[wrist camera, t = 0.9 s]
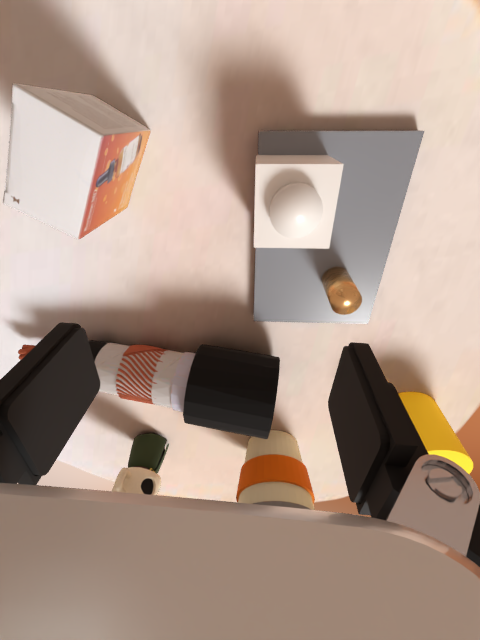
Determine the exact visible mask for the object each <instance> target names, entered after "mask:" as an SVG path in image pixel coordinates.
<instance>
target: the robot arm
mask: <svg viewBox="0 0 480 640" xmlns="http://www.w3.org/2000/svg"><path fill="white" fill-rule="evenodd" d="M99 389H100V379H99V375H98V372H97V369H96V365H95V362H94V358H93V355H92V352H91V348H90V345H89V342H88V338H87V335H86V332H85V330H84V328H81V326H80V325H79V324H75V323H59V324H58V325H57V326H56V327H55V328H54V329H53V330H52V331H51V332H50V333H48V334H47V335H46V336H45V337H44V338H43V339H42V340H41V341H40V342H39V343H38V344H37V345H36V346H35V347H34V348H33V349H32V350H31V351H30V352H29V353H28V354H27V355H26V356H25V357H24V358H22V359H21V360H20V361H19V362H18V363H17V364H16V365H15V366H14V367H13V368H12V369H11V370H10V371H9V372H8V373H7V374H6V375H5V376H4V377H3V378H2V379H1V380H0V640H480V493H479V490H478V487H477V485H476V483H475V482H474V480H473V479H472V477H471V476H470V475H469V474H468V473H467V472H466V471H465V470H464V469H463V468H462V467H460V466H459V465H458V464H456V463H455V462H453V461H451V460H449V459H447V458H445V457H442V456H438V455H435V454H428V452H427V450H426V448H425V446H424V444H423V442H422V440H421V438H420V436H419V434H418V432H417V430H416V428H415V426H414V424H413V422H412V420H411V418H410V416H409V414H408V412H407V410H406V408H405V406H404V404H403V402H402V400H401V398H400V396H399V395H398V393H397V391H396V389H395V387H394V386H393V384H391V383H388V382H387V381H386V379H385V376H384V374H383V372H382V370H381V368H380V366H379V364H378V362H377V360H376V358H375V356H374V354H373V352H372V350H371V348H370V346H369V344H366V343H350V344H349V346H345V347H344V348H343V351H342V354H341V358H340V361H339V365H338V368H337V372H336V375H335V379H334V382H333V386H332V389H331V393H330V396H329V401H328V407H329V412H330V416H331V421H332V425H333V429H334V434H335V438H336V442H337V446H338V451H339V455H340V459H341V463H342V468H343V472H344V476H345V481H346V485H347V489H348V493H349V497H350V500H351V501H352V502H356V505H357V509H358V513H359V514H363V515H371V517H364V516H358V515H352V514H345V513H336V512H327V511H317V510H309V509H300V508H290V507H279V506H269V505H258V504H247V503H236V502H226V501H215V500H204V499H192V498H181V497H170V496H158V495H147V494H135V493H124V492H112V491H100V490H87V489H76V488H64V487H51V486H39V485H36V484H37V483H38V481H39V479H40V478H41V476H42V475H46V474H47V473H48V472H49V470H50V468H51V467H52V465H53V464H54V462H55V461H56V459H57V457H58V456H59V454H60V453H61V451H62V449H63V448H64V446H65V445H66V443H67V441H68V440H69V438H70V436H71V435H72V433H73V432H74V430H75V428H76V427H77V425H78V424H79V422H80V420H81V419H82V417H83V416H84V414H85V412H86V411H87V409H88V408H89V406H90V404H91V403H92V401H93V400H94V398H95V396H96V395H97V393H98V391H99ZM17 482H18V484H17Z"/></svg>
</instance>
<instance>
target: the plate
mask: <svg viewBox="0 0 480 640" xmlns="http://www.w3.org/2000/svg"><path fill="white" fill-rule="evenodd" d="M423 134H424V131H420V130H360V131H259V139H258V155H329V156H330V157H332V158H334V159H335V160H337V161H339V162H341V163H342V164H344V165H343V171H342V177H341V183H340V189H339V194H338V200H337V206H336V212H335V218H334V223H333V229H332V235H331V241H330V247H329V249H315V248H256V252H255V290H254V321H271V322H312V323H354V324H368V322H369V319H370V315H371V312H372V308H373V305H374V301H375V298H376V295H377V291H378V288H379V284H380V281H381V277H382V274H383V271H384V267H385V264H386V260H387V257H388V254H389V250H390V247H391V243H392V240H393V236H394V233H395V230H396V226H397V223H398V219H399V216H400V212H401V209H402V206H403V202H404V199H405V195H406V192H407V188H408V185H409V182H410V178H411V175H412V171H413V168H414V165H415V161H416V158H417V154H418V151H419V147H420V144H421V141H422V137H423ZM332 267H343V268H345V269H346V270H347V271H348V273H349V275H350V276H351V278H352V280H353V282H354V283H355V285H356V287H357V289H358V290H359V292H360V294H361V296H362V303H361V305H360V307H359V308H358V309H357V310H356V311H355V312H353V313H351V314H347V315H341V314H337V313H335V312H334V311H333V310H332V308H331V305H330V303H329V300H328V298H327V295H326V292H325V290H324V287H323V285H322V276H323V274H324V273H325V272H326V271H327V270H328V269H330V268H332Z"/></svg>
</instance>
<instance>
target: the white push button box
mask: <svg viewBox="0 0 480 640" xmlns="http://www.w3.org/2000/svg"><path fill="white" fill-rule="evenodd" d="M343 165H344V164H342V163H341V162H339V161H337V160H335V159H334V158H332V157H330V156H329V155H256V166H255V210H254V248H315V249H329V247H330V241H331V235H332V229H333V223H334V218H335V212H336V206H337V200H338V194H339V189H340V183H341V177H342V171H343Z"/></svg>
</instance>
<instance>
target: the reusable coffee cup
mask: <svg viewBox="0 0 480 640" xmlns="http://www.w3.org/2000/svg"><path fill="white" fill-rule="evenodd" d="M236 499H237V502H238V503H247V504H258V505H269V506H279V507H290V508H300V509H309V510H315V509H314V506H313V504H314V500H315V499H314V494H313V491H312V487H311V483H310V480H309V476H308V472H307V468H306V467H305V465H304V464H303V463H302V459H301V455H300V451H299V448H298V444H297V441H296V439H295V438H294V437H293V436H292V435H290V434H288V433H286V432H283V431H278V430H270V433H269V437H268V439H262V438H258V437H253V436H252V437H251V438H250V439H249V441H248V446H247V452H246V458H245V464H244V465H243V466H242V468H241V473H240V479H239V484H238V490H237V496H236Z"/></svg>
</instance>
